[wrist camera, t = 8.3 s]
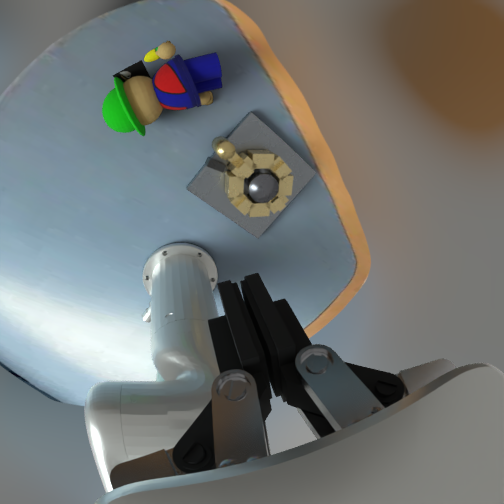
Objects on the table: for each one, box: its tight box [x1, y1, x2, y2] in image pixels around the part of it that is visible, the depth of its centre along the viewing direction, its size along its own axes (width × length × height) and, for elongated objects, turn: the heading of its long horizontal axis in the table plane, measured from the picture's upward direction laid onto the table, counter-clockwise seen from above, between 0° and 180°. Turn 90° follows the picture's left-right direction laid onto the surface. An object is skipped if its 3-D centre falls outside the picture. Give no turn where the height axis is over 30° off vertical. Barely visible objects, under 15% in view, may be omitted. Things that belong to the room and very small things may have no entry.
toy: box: [102, 41, 222, 136], centre depth 28 cm, size 12×9×15 cm
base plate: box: [187, 112, 316, 238], centre depth 39 cm, size 14×15×6 cm
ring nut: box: [212, 136, 293, 217], centre depth 37 cm, size 13×9×5 cm
